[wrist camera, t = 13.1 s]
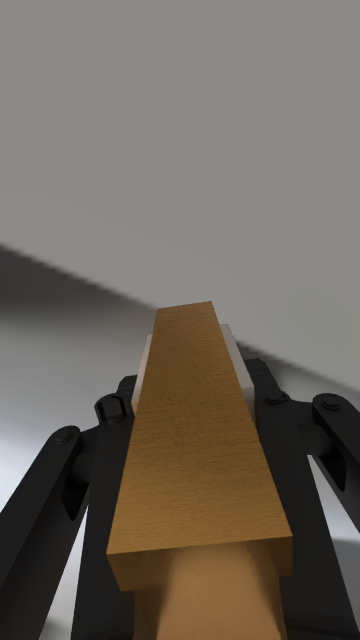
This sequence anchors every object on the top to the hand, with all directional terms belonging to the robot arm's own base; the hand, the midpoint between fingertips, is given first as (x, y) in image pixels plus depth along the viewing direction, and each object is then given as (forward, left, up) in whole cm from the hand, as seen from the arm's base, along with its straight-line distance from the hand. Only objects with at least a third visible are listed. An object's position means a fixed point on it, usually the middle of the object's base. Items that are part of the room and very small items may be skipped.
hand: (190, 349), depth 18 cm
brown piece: (+10, 0, -2) cm, 10 cm away
